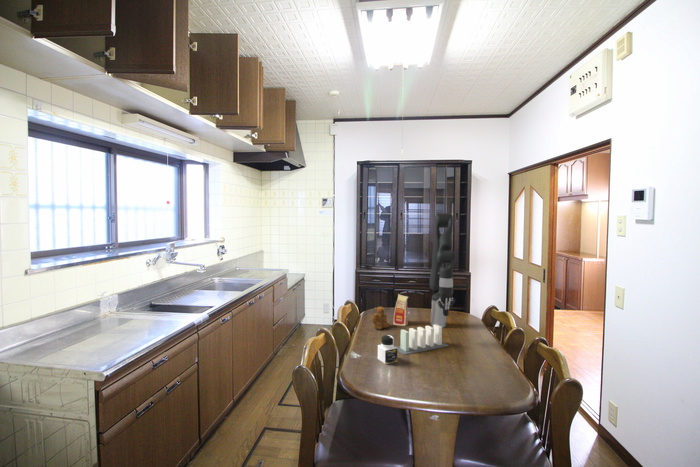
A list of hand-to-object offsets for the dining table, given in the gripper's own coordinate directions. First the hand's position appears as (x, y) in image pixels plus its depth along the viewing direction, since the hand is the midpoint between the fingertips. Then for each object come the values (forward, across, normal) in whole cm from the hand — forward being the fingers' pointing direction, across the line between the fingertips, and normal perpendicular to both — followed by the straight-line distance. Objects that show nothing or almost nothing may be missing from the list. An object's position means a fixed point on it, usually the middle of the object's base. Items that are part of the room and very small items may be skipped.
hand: (445, 315), depth 178 cm
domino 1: (+15, +28, 0) cm, 31 cm away
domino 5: (+15, +6, 0) cm, 16 cm away
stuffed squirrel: (+16, +21, -38) cm, 46 cm away
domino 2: (+15, +22, 0) cm, 27 cm away
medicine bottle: (+16, +43, +7) cm, 46 cm away
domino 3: (+15, +16, 0) cm, 22 cm away
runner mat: (+16, +16, 0) cm, 23 cm away
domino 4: (+15, +11, 0) cm, 19 cm away
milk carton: (+15, +3, -39) cm, 42 cm away
